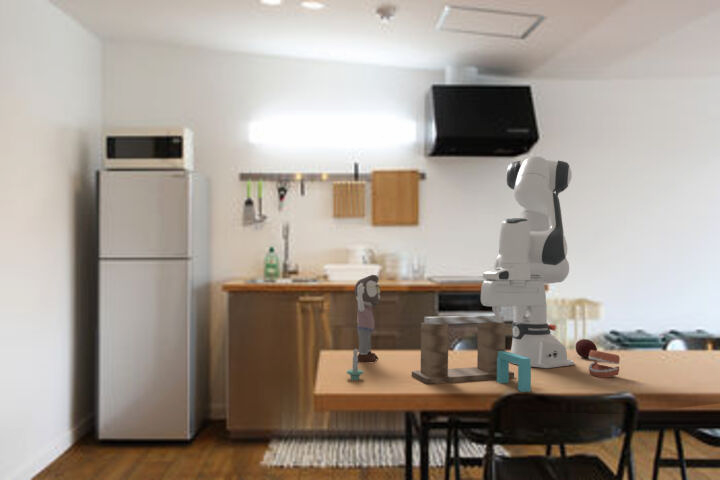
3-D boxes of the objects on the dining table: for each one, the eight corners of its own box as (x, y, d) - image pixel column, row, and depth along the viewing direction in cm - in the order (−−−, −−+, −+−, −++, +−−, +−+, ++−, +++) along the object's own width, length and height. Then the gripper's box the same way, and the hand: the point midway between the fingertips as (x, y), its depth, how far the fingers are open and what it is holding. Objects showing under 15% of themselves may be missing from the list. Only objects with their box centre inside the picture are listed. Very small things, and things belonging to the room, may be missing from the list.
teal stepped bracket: (505, 381, 153) (505, 350, 153) (530, 391, 142) (531, 358, 143) (496, 381, 152) (497, 351, 152) (521, 391, 141) (521, 358, 142)
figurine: (373, 367, 169) (375, 275, 170) (345, 365, 171) (347, 275, 172) (382, 356, 187) (383, 274, 188) (356, 355, 189) (358, 273, 190)
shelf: (495, 370, 167) (495, 313, 168) (514, 377, 158) (514, 317, 159) (411, 376, 157) (412, 315, 158) (426, 384, 148) (427, 319, 148)
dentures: (581, 373, 165) (581, 348, 165) (595, 371, 169) (595, 347, 169) (606, 379, 158) (606, 353, 158) (620, 377, 161) (620, 351, 161)
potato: (584, 360, 187) (584, 341, 187) (570, 356, 194) (571, 337, 195) (601, 360, 189) (601, 340, 189) (587, 355, 196) (588, 337, 196)
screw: (351, 376, 155) (366, 378, 153) (343, 380, 151) (358, 382, 149) (351, 346, 156) (366, 348, 154) (344, 349, 151) (359, 350, 149)
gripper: (536, 274, 155) (536, 320, 154) (478, 272, 148) (477, 321, 147) (551, 275, 149) (550, 323, 148) (490, 273, 142) (489, 324, 141)
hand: (513, 322), depth 148 cm, fingers open, 8 cm apart
